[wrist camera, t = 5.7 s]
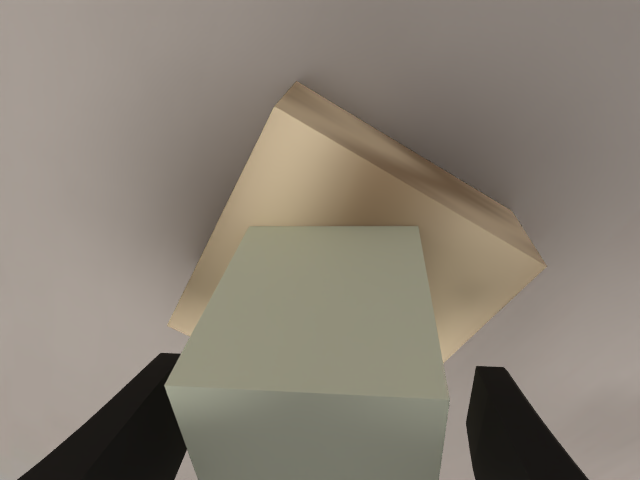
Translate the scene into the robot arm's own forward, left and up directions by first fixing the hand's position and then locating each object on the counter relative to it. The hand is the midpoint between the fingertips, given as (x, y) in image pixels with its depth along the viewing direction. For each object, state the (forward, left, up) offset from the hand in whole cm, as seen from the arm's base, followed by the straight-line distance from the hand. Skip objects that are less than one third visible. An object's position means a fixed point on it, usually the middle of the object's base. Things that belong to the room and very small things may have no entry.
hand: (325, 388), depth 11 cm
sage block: (0, 0, -4) cm, 4 cm away
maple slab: (0, 0, -8) cm, 8 cm away
